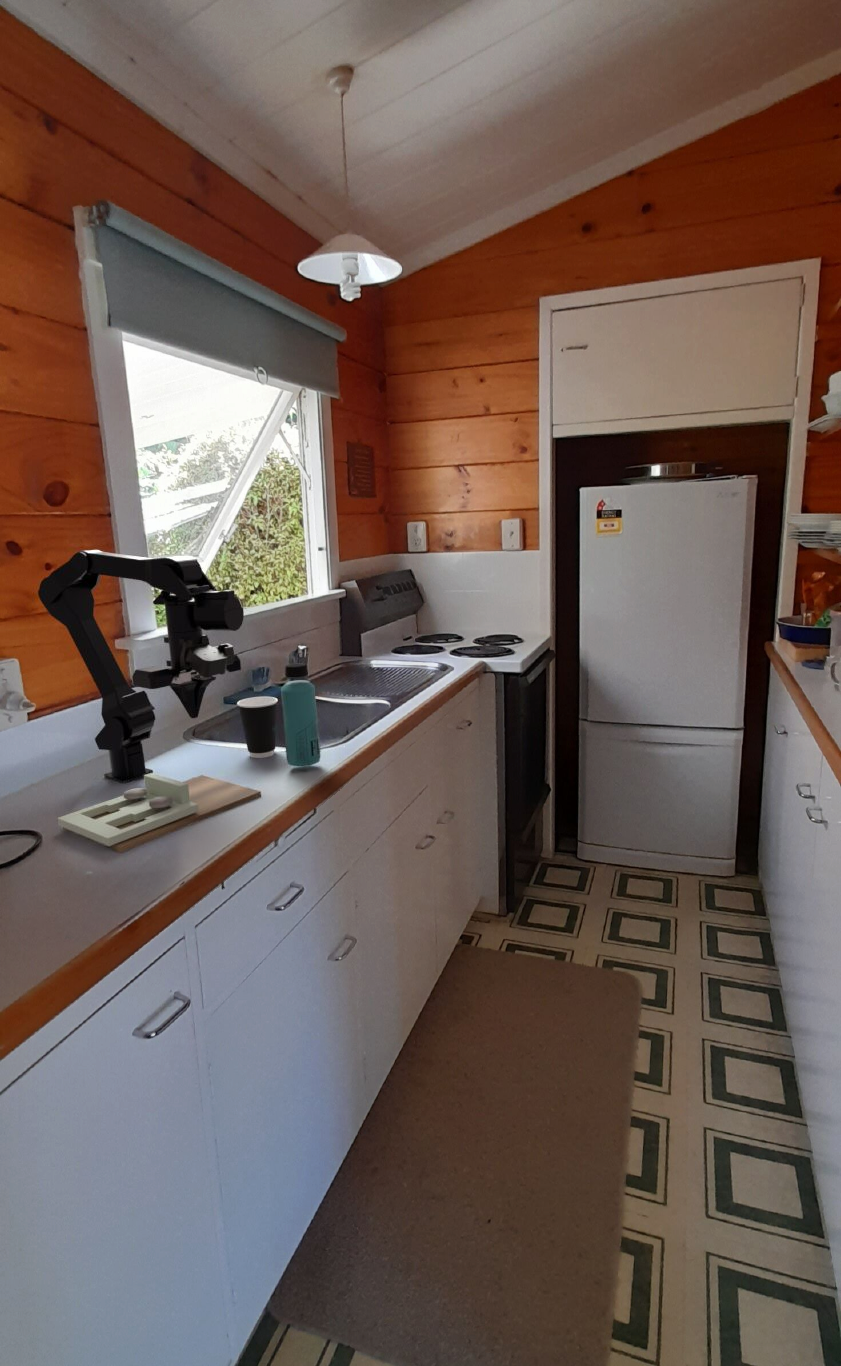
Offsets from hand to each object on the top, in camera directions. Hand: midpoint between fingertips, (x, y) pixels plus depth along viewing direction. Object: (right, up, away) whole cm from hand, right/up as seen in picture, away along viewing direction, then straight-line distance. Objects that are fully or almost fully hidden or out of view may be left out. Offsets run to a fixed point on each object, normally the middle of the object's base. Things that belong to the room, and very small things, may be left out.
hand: (194, 717), depth 130 cm
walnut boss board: (-1, -15, -11) cm, 18 cm away
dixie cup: (+8, -8, +18) cm, 21 cm away
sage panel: (-5, -15, -16) cm, 22 cm away
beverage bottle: (+18, -10, +8) cm, 22 cm away
